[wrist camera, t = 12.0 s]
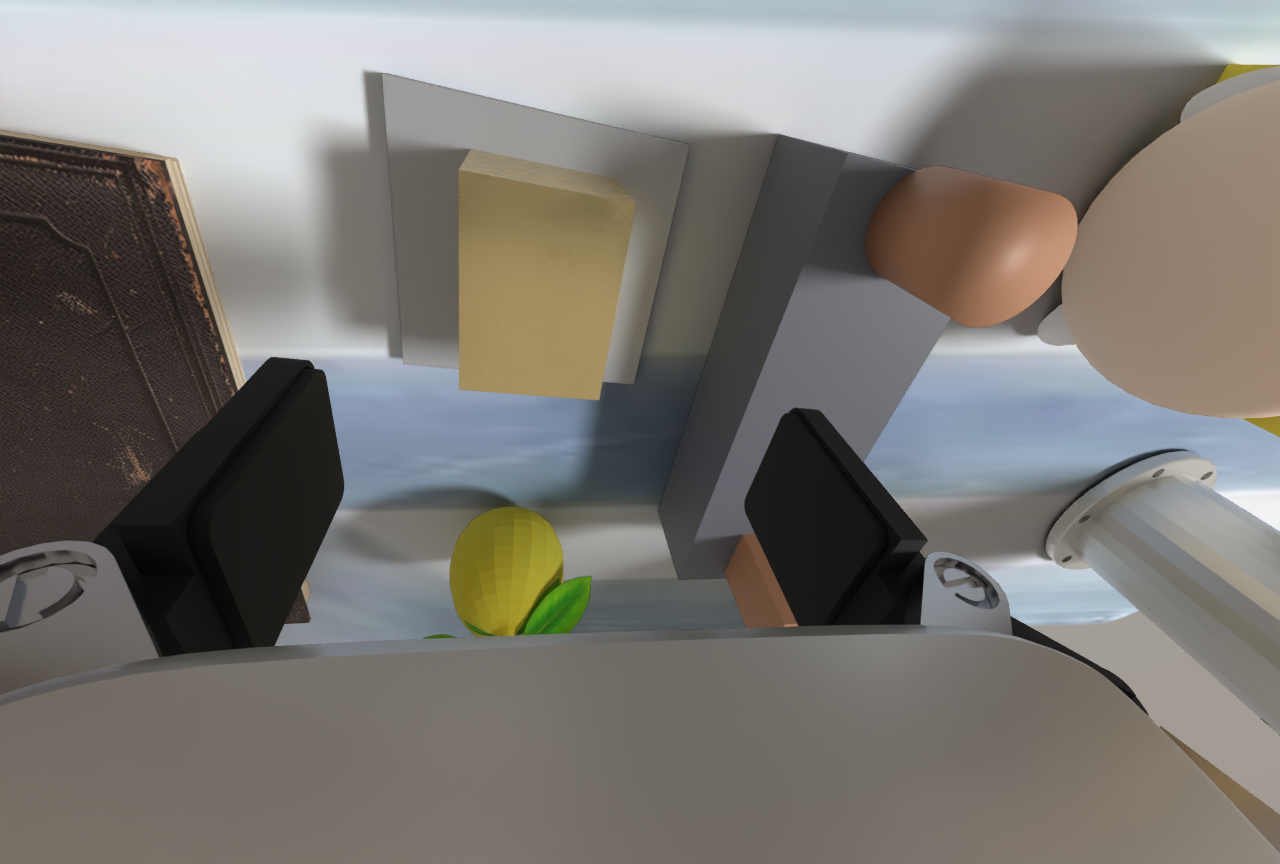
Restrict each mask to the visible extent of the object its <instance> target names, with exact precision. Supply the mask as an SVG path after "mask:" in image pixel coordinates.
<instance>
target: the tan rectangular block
mask: <svg viewBox="0 0 1280 864" xmlns="http://www.w3.org/2000/svg"><path fill="white" fill-rule="evenodd" d="M635 208H636V202H635V201H634V200H633V199H632V197H631V196H630V195H629V194H628V192H627V191H626V190H625V189H624V187H623V186H622V185H621V184H620V182H619V181H618V180H617V179H616V178H611V177H606V176H601V175H596V174H591V173H586V172H582V171H577V170H572V169H567V168H562V167H557V166H552V165H547V164H542V163H537V162H532V161H528V160H523V159H518V158H513V157H508V156H503V155H498V154H493V153H488V152H483V151H478V150H474V149H471V150H470V152H469V153H468V155H467V157H466V158H465V160H464V161H463V163H462V165H461V166H460V168H459V390H470V391H484V392H497V393H510V394H523V395H537V396H550V397H563V398H577V399H590V400H599V398H600V393H601V388H602V383H603V377H604V372H605V367H606V361H607V356H608V351H609V346H610V340H611V335H612V330H613V325H614V319H615V314H616V309H617V303H618V298H619V293H620V288H621V282H622V277H623V272H624V267H625V261H626V256H627V251H628V245H629V240H630V235H631V230H632V224H633V219H634V214H635Z"/></svg>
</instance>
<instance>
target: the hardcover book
mask: <svg viewBox="0 0 1280 864" xmlns="http://www.w3.org/2000/svg"><path fill="white" fill-rule="evenodd" d="M245 383H246V379H245V376H244V373H243V369H242V366H241V363H240V360H239V356H238V353H237V350H236V347H235V343H234V340H233V337H232V333H231V330H230V327H229V324H228V320H227V317H226V314H225V310H224V307H223V304H222V301H221V297H220V294H219V291H218V287H217V284H216V281H215V278H214V274H213V271H212V268H211V265H210V261H209V258H208V255H207V251H206V248H205V245H204V242H203V238H202V235H201V232H200V228H199V225H198V222H197V219H196V215H195V212H194V209H193V205H192V202H191V199H190V196H189V192H188V189H187V186H186V183H185V179H184V176H183V173H182V169H181V166H180V163H179V160H178V159H175V158H169V157H163V156H157V155H151V154H144V153H138V152H132V151H126V150H120V149H113V148H107V147H101V146H95V145H88V144H82V143H76V142H70V141H64V140H57V139H51V138H45V137H39V136H33V135H26V134H20V133H14V132H8V131H1V130H0V556H1V555H4V554H6V553H9V552H11V551H14V550H18V549H22V548H26V547H30V546H34V545H38V544H42V543H50V542H59V541H68V540H69V541H84V542H91V543H92V542H93V540H94V539H95V538H96V537H97V536H98V535H99V534H100V533H101V532H102V531H103V530H104V529H105V528H106V527H107V526H108V525H109V524H110V523H111V522H112V520H113V519H114V518H115V517H116V516H117V515H118V514H119V513H120V512H121V511H122V510H123V509H124V508H125V507H126V506H127V505H128V504H129V503H130V502H131V500H132V499H133V498H134V497H135V496H136V495H137V494H138V493H139V492H140V491H141V490H142V489H143V488H144V487H145V486H146V485H147V484H148V483H149V482H150V480H151V479H152V478H153V477H154V476H155V475H156V474H157V473H158V472H159V471H160V470H161V469H162V468H163V467H164V466H165V465H166V464H167V463H168V462H169V460H170V459H171V458H172V457H173V456H174V455H175V454H176V453H177V452H178V451H179V450H180V449H181V448H182V447H183V446H184V445H185V444H186V443H187V442H188V440H189V439H190V438H191V437H192V436H193V435H194V434H195V433H196V432H198V431H199V430H200V429H202V428H203V427H204V426H205V425H206V424H207V423H208V422H209V421H210V420H211V419H212V418H213V417H214V416H215V415H216V414H217V413H218V412H219V410H220V409H221V408H222V407H223V406H224V405H225V404H226V403H227V402H228V401H229V400H230V399H231V398H232V397H233V396H234V395H235V393H236V392H237V391H238V390H239V389H240V388H241V387H242V386H243V385H244V384H245ZM310 594H311V592H310V589H309V586H308V583H307V579H306V578H305V580H304V582H303V585H302V587H301V589H300V591H299V593H298V595H297V598H296V600H295V602H294V604H293V606H292V609H291V611H290V613H289V615H288V617H287V619H286V622H285V624H293V623H308V622H309V621H310V619H311V617H310V614H309V611H308V608H307V605H306V604H307V602H308V599H309V597H310Z"/></svg>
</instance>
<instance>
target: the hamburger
mask: <svg viewBox="0 0 1280 864" xmlns="http://www.w3.org/2000/svg"><path fill="white" fill-rule="evenodd" d="M1180 122H1181V123H1180V124H1178V125H1176V126H1175V127H1173V128H1172V129H1170V130H1168V131H1167V132H1165V133H1164V134H1162V135H1161V136H1160V137H1158V138H1157V139H1156V140H1155V141H1153V142H1152V143H1151V144H1149V145H1148V146H1147V147H1146V148H1144V149H1143V150H1142V151H1140V152H1139V153H1138V154H1137V155H1135V156H1134V157H1133V158H1132V159H1131V160H1130V161H1129V162H1128V163H1127V164H1126V165H1125V166H1124V167H1123V168H1122V169H1121V170H1120V171H1119V172H1118V173H1117V174H1116V175H1115V176H1114V177H1113V178H1112V179H1111V180H1110V181H1109V182H1108V184H1107V185H1106V186H1105V187H1104V189H1103V190H1102V191H1101V192H1100V194H1099V195H1098V196H1097V197H1096V199H1095V200H1094V201H1093V203H1092V204H1091V206H1090V207H1089V209H1088V211H1087V212H1086V214H1085V216H1084V217H1083V219H1082V220H1081V222H1080V224H1079V226H1078V228H1077V236H1076V241H1075V244H1074V247H1073V250H1072V252H1071V255H1070V257H1069V259H1068V261H1067V263H1066V265H1065V266H1064V268H1063V278H1062V288H1061V291H1062V304H1061V305H1060V306H1058V307H1057V308H1056V309H1055V310H1054V311H1052V312H1051V313H1050V314H1049V315H1048V316H1047V317H1046V318H1045V319H1043V320H1042V322H1041V323H1040V325H1039V327H1038V336H1039V338H1040V340H1042V341H1043V342H1045V343H1047V344H1051V345H1056V346H1063V345H1073V344H1076V345H1077V347H1078V349H1079V350H1080V351H1081V353H1082V354H1083V355H1084V357H1085V358H1086V359H1087V361H1088V362H1089V363H1090V365H1092V366H1093V367H1094V368H1095V369H1096V370H1097V371H1098V372H1099V373H1100V374H1101V375H1103V376H1104V377H1105V378H1106V379H1107V380H1108V381H1110V382H1112V383H1113V384H1115V385H1116V386H1118V387H1119V388H1121V389H1123V390H1124V391H1126V392H1127V393H1129V394H1131V395H1133V396H1136V397H1138V398H1140V399H1142V400H1145V401H1147V402H1149V403H1152V404H1154V405H1157V406H1161V407H1165V408H1169V409H1172V410H1176V411H1180V412H1183V413H1188V414H1195V415H1203V416H1211V417H1219V418H1242V419H1244V420H1246V421H1248V422H1250V423H1253V424H1255V425H1257V426H1259V427H1261V428H1263V429H1265V430H1267V431H1269V432H1271V433H1273V434H1275V435H1277V436H1279V437H1280V65H1227V66H1226V68H1225V70H1224V71H1223V73H1222V75H1221V76H1220V78H1219V80H1218V82H1217V83H1216V84H1215V85H1213V86H1211V87H1209V88H1206V89H1205V90H1203V91H1201V92H1199V93H1198V94H1197V95H1195V96H1194V97H1193V98H1192V99H1191V100H1190V101H1189V102H1188V103H1187V104H1186V106H1185V108H1184V109H1183V111H1182V114H1181V119H1180Z"/></svg>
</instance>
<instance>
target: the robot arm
mask: <svg viewBox="0 0 1280 864" xmlns="http://www.w3.org/2000/svg"><path fill="white" fill-rule="evenodd" d="M1216 477H1217V469H1216V467H1215V464H1214V463H1212V462H1211V461H1209V460H1208V459H1206V458H1204V457H1203V456H1201V455H1199V454H1197V453H1194V452H1190V451H1176V452H1168V453H1164V454H1160V455H1156V456H1153V457H1150V458H1147V459H1145V460H1142V461H1139V462H1137V463H1134V464H1132V465H1130V466H1128V467H1126V468H1124V469H1122V470H1120V471H1118V472H1117V473H1115V474H1113V475H1111V476H1110V477H1108V478H1106V479H1105V480H1103V481H1102V482H1100V483H1099V484H1097V485H1096V486H1094V487H1093V488H1091V489H1090V490H1089V491H1087V492H1086V493H1085V494H1084V495H1082V496H1081V497H1080V498H1079V499H1078V500H1076V501H1075V502H1074V503H1073V504H1072V505H1071V506H1070V507H1069V508H1068V509H1067V510H1066V511H1065V512H1064V513H1063V514H1062V515H1061V517H1060V518H1059V519H1058V520H1057V521H1056V523H1055V524H1054V526H1053V527H1052V529H1051V531H1050V532H1049V535H1048V538H1047V540H1046V551H1047V554H1048V556H1050V557H1051V558H1052V559H1053V560H1054V561H1055V562H1056V563H1057V564H1058V565H1059V566H1061V567H1063V568H1068V569H1087V568H1092V569H1093V570H1094V571H1095V572H1096V573H1098V574H1099V575H1100V576H1101V577H1102V578H1103V579H1104V580H1105V581H1107V582H1108V583H1109V584H1110V585H1111V586H1112V587H1113V588H1114V589H1116V590H1117V591H1118V592H1119V593H1120V594H1121V595H1122V596H1123V597H1125V598H1126V599H1127V600H1128V601H1129V602H1130V603H1131V604H1132V605H1134V606H1135V607H1136V608H1137V609H1138V610H1139V611H1140V612H1141V613H1143V614H1144V615H1145V616H1146V617H1147V618H1148V619H1149V620H1150V621H1151V622H1153V623H1154V624H1155V625H1156V626H1157V627H1158V628H1159V629H1161V630H1162V631H1163V632H1164V633H1165V634H1166V635H1167V636H1168V637H1170V638H1171V639H1172V640H1173V641H1174V642H1175V643H1176V644H1177V645H1178V646H1180V647H1181V648H1182V649H1183V650H1184V651H1185V652H1186V653H1187V654H1189V655H1190V656H1191V657H1192V658H1193V659H1194V660H1195V661H1197V662H1198V663H1199V664H1200V665H1201V666H1202V667H1203V668H1204V669H1206V670H1207V671H1208V672H1209V673H1210V674H1211V675H1212V676H1213V677H1214V678H1216V679H1217V680H1218V681H1219V682H1220V683H1221V684H1222V685H1223V686H1225V687H1226V688H1227V689H1228V690H1229V691H1230V692H1231V693H1232V694H1234V695H1235V696H1236V697H1237V698H1238V699H1239V700H1240V701H1242V702H1243V703H1244V704H1245V705H1246V706H1247V707H1248V708H1249V709H1250V710H1252V711H1253V712H1254V713H1255V714H1256V715H1257V716H1258V717H1259V718H1261V719H1262V720H1263V721H1264V722H1265V723H1267V724H1268V725H1269V726H1270V727H1271V728H1272V729H1273V730H1274V731H1275V732H1276V733H1277V734H1279V735H1280V531H1278V530H1276V529H1275V528H1273V527H1272V526H1270V525H1268V524H1267V523H1265V522H1263V521H1262V520H1260V519H1259V518H1257V517H1255V516H1254V515H1252V514H1251V513H1249V512H1247V511H1246V510H1244V509H1243V508H1241V507H1239V506H1238V505H1236V504H1234V503H1233V502H1231V501H1230V500H1228V499H1226V498H1225V497H1223V496H1222V495H1220V494H1218V493H1217V492H1215V491H1213V490H1212V488H1213V486H1214V484H1215V481H1216ZM343 492H344V478H343V472H342V467H341V461H340V455H339V449H338V444H337V438H336V432H335V426H334V421H333V415H332V409H331V403H330V398H329V392H328V386H327V380H326V376H325V373H324V371H323V370H320V369H314V366H313V364H312V363H311V362H310V361H309V360H298V359H288V358H278V357H271V358H269V359H268V360H267V361H266V362H265V363H264V364H263V365H262V366H261V367H260V368H259V369H258V370H257V371H256V372H255V373H254V374H253V375H252V377H251V378H250V379H249V380H248V381H247V382H246V383H245V384H244V385H243V386H242V387H241V388H240V389H239V390H238V391H237V392H236V393H235V395H234V396H233V397H232V398H231V399H230V400H229V401H228V402H227V403H226V404H225V405H224V406H223V407H222V408H221V409H220V410H219V412H218V413H217V414H216V415H215V416H214V417H213V418H212V419H211V420H210V421H209V422H208V423H207V424H206V425H205V426H204V427H203V428H202V429H200V430H199V431H198V432H196V433H195V434H194V435H193V436H192V437H191V438H190V439H189V440H188V442H187V443H186V444H185V445H184V446H183V447H182V448H181V449H180V450H179V451H178V452H177V453H176V454H175V455H174V456H173V457H172V458H171V459H170V460H169V462H168V463H167V464H166V465H165V466H164V467H163V468H162V469H161V470H160V471H159V472H158V473H157V474H156V475H155V476H154V477H153V478H152V479H151V480H150V482H149V483H148V484H147V485H146V486H145V487H144V488H143V489H142V490H141V491H140V492H139V493H138V494H137V495H136V496H135V497H134V498H133V499H132V500H131V502H130V503H129V504H128V505H127V506H126V507H125V508H124V509H123V510H122V511H121V512H120V513H119V514H118V515H117V516H116V517H115V518H114V519H113V520H112V522H111V523H110V524H109V525H108V526H107V527H106V528H105V529H104V530H103V531H102V532H101V533H100V534H99V535H98V536H97V537H96V538H95V539H94V540H93V542H92V543H91V542H84V541H69V540H68V541H59V542H50V543H42V544H38V545H34V546H30V547H26V548H22V549H18V550H14V551H11V552H9V553H6V554H4V555H1V556H0V864H1280V815H1279V814H1278V813H1277V812H1275V811H1274V810H1273V809H1271V808H1270V807H1269V806H1267V805H1266V804H1265V803H1263V802H1262V801H1261V800H1259V799H1258V798H1257V797H1255V796H1254V795H1253V794H1251V793H1250V792H1249V791H1247V790H1246V789H1244V788H1243V787H1242V786H1240V785H1239V784H1238V783H1237V782H1235V781H1234V780H1232V779H1231V778H1229V777H1228V776H1227V775H1226V774H1224V773H1223V772H1222V771H1220V770H1219V769H1218V768H1216V767H1215V766H1214V765H1212V764H1211V763H1210V762H1208V761H1207V760H1206V759H1204V758H1203V757H1202V756H1200V755H1199V754H1198V753H1196V752H1195V751H1194V750H1192V749H1191V748H1190V747H1188V746H1187V745H1185V744H1184V743H1183V742H1182V741H1180V740H1179V739H1177V738H1176V737H1175V736H1174V735H1172V734H1171V733H1170V732H1168V731H1167V730H1166V729H1164V728H1163V727H1161V726H1158V725H1157V724H1156V723H1155V722H1154V721H1153V720H1152V719H1151V718H1150V717H1149V715H1148V713H1147V711H1146V710H1145V708H1144V707H1143V705H1142V704H1141V703H1140V701H1139V700H1138V698H1137V697H1136V695H1135V694H1134V692H1133V691H1132V690H1131V688H1130V687H1129V686H1128V685H1127V684H1126V683H1125V682H1124V681H1123V680H1121V679H1120V678H1119V677H1118V676H1116V675H1115V674H1113V673H1111V672H1110V671H1108V670H1106V669H1104V668H1101V667H1100V666H1098V665H1097V664H1095V663H1093V662H1092V661H1090V660H1088V659H1086V658H1084V657H1083V656H1081V655H1079V654H1077V653H1075V652H1074V651H1072V650H1070V649H1068V648H1067V647H1065V646H1063V645H1061V644H1059V643H1058V642H1056V641H1054V640H1052V639H1050V638H1048V637H1047V636H1045V635H1043V634H1042V633H1040V632H1038V631H1036V630H1034V629H1033V628H1031V627H1029V626H1027V625H1026V624H1024V623H1022V622H1020V621H1018V620H1017V619H1015V618H1013V617H1011V616H1010V610H1009V603H1008V600H1007V597H1006V594H1005V593H1004V591H1003V590H1002V588H1001V587H1000V585H999V584H998V583H997V582H996V581H995V580H994V579H993V578H992V577H991V576H990V575H989V574H988V573H987V572H985V571H984V570H983V569H981V568H980V567H979V566H978V565H976V564H974V563H972V562H971V561H969V560H967V559H965V558H963V557H961V556H958V555H956V554H953V553H948V552H943V551H939V552H932V553H931V554H929V555H927V557H926V558H924V557H923V556H922V554H921V553H920V552H919V551H920V550H921V549H922V547H923V546H924V545H925V543H926V542H927V541H928V540H927V538H926V537H925V536H924V535H923V533H922V532H921V531H920V530H919V529H918V527H917V526H916V525H915V524H914V523H913V521H912V520H911V519H910V518H909V517H908V515H907V514H906V513H905V512H904V511H903V509H902V508H901V507H900V506H899V505H898V503H897V502H896V501H895V500H894V499H893V497H892V496H891V495H890V494H889V493H888V491H887V490H886V489H885V488H884V487H883V485H882V484H881V483H880V482H879V481H878V479H877V478H876V477H875V476H874V475H873V473H872V472H871V471H870V470H869V469H868V467H867V466H866V465H865V464H864V463H863V461H862V460H861V459H860V458H859V457H858V455H857V454H856V453H855V452H854V450H853V449H852V448H851V447H850V446H849V444H848V443H847V442H846V441H845V440H844V438H843V437H842V436H841V435H840V434H839V432H838V431H837V430H836V429H835V428H834V426H833V425H832V424H831V423H830V422H829V420H828V419H827V418H826V417H825V416H824V414H823V413H822V412H821V411H819V410H816V409H806V408H796V407H795V408H793V409H791V410H790V411H789V413H785V414H784V415H783V416H782V417H781V419H780V421H779V424H778V426H777V428H776V430H775V433H774V435H773V437H772V439H771V442H770V444H769V446H768V448H767V450H766V453H765V455H764V457H763V459H762V462H761V464H760V466H759V468H758V471H757V473H756V475H755V477H754V480H753V482H752V484H751V486H750V489H749V491H748V493H747V495H746V498H745V502H744V509H745V513H746V515H747V518H748V520H749V522H750V524H751V526H752V528H753V530H754V533H755V535H756V537H757V539H758V541H759V543H760V545H761V547H762V550H763V552H764V554H765V556H766V558H767V560H768V562H769V565H770V567H771V569H772V571H773V573H774V575H775V577H776V579H777V582H778V584H779V586H780V588H781V590H782V592H783V594H784V597H785V599H786V601H787V603H788V605H789V607H790V609H791V612H792V614H793V616H794V618H795V620H796V622H797V624H798V626H794V627H757V628H721V629H690V630H658V631H628V632H599V633H569V634H541V635H515V636H489V637H462V638H436V639H410V640H384V641H365V642H346V643H327V644H308V645H290V646H274V645H275V643H276V641H277V639H278V637H279V635H280V632H281V630H282V628H283V626H284V624H285V622H286V619H287V617H288V615H289V613H290V611H291V609H292V606H293V604H294V602H295V600H296V598H297V595H298V593H299V591H300V589H301V587H302V585H303V582H304V580H305V578H306V576H307V574H308V572H309V569H310V567H311V565H312V563H313V561H314V559H315V556H316V554H317V552H318V550H319V548H320V546H321V543H322V541H323V539H324V537H325V535H326V533H327V530H328V528H329V526H330V524H331V522H332V520H333V517H334V515H335V513H336V511H337V509H338V506H339V504H340V502H341V500H342V497H343Z"/></svg>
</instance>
